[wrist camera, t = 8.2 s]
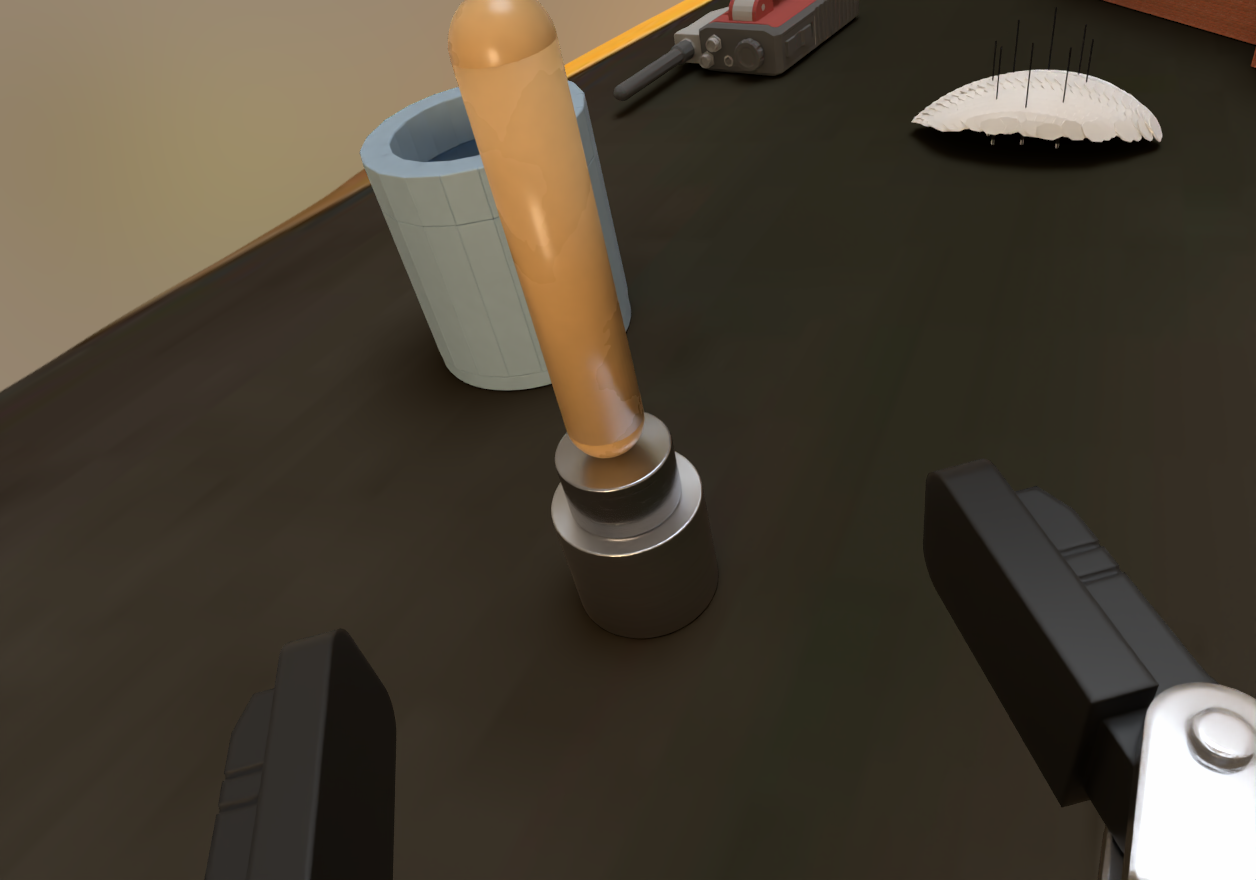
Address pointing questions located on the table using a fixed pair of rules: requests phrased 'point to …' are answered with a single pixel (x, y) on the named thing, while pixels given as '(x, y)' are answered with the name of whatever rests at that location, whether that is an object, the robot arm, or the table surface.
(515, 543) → the table surface
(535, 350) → the jar
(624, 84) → the walkie-talkie
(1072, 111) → the pincushion
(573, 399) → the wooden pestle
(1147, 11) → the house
